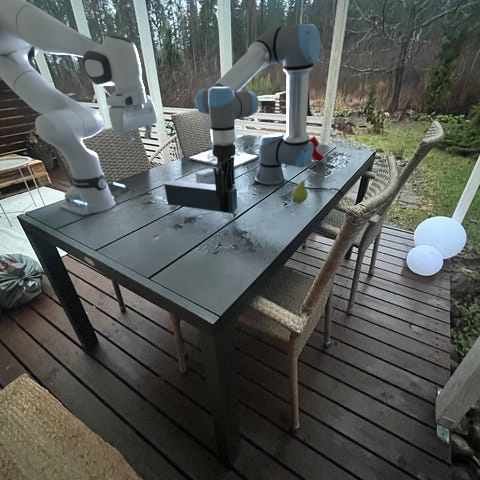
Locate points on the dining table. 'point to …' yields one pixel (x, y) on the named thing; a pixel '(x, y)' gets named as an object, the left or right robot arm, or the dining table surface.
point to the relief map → (239, 156)
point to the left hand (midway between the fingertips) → (140, 141)
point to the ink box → (206, 177)
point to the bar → (198, 195)
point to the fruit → (300, 192)
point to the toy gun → (316, 153)
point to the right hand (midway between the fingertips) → (226, 208)
